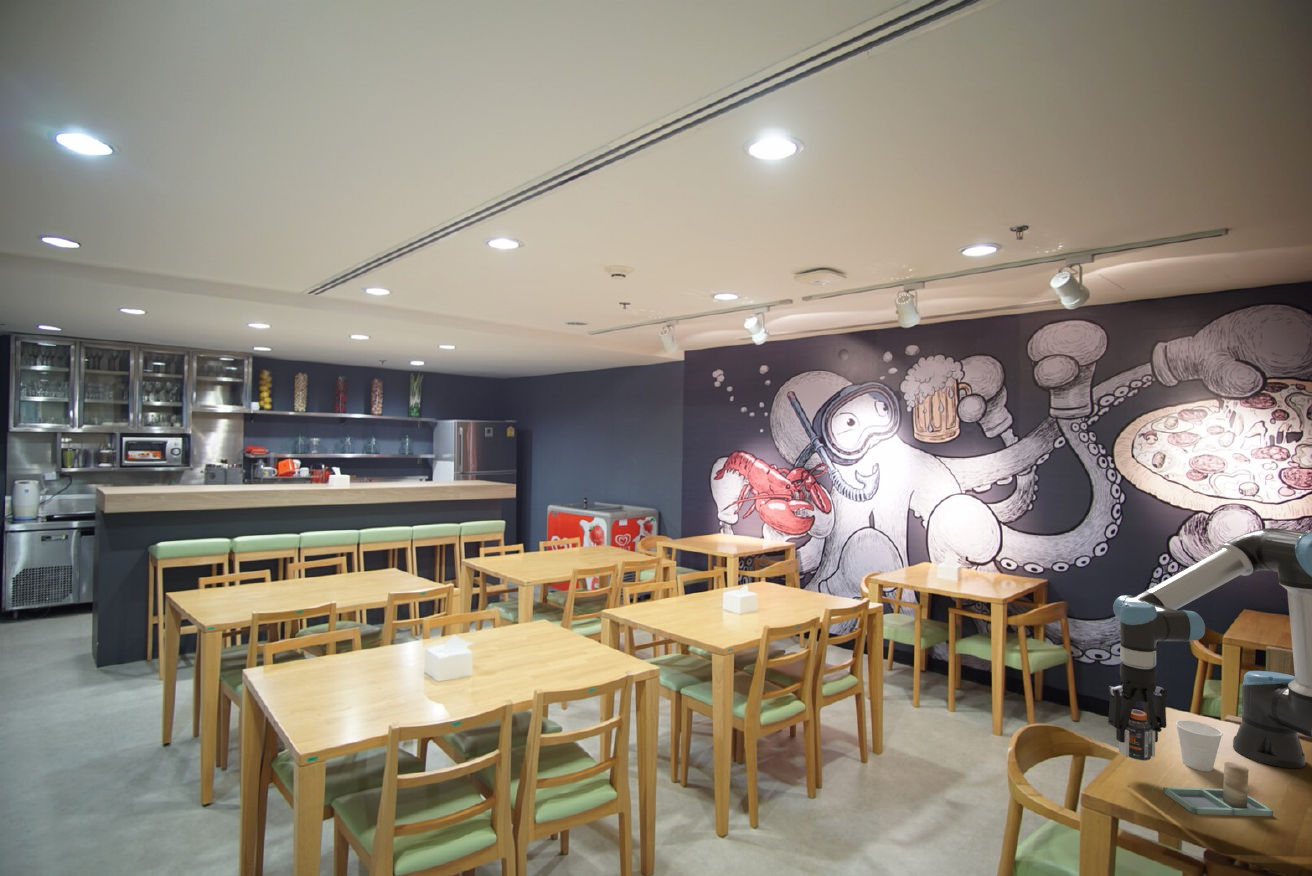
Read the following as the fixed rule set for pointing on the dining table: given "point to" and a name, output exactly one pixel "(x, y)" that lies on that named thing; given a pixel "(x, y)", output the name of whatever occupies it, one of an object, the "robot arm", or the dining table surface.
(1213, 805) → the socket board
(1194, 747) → the cup
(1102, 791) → the dining table surface
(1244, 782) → the beech dowel
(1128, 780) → the dining table surface
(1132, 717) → the pill bottle
